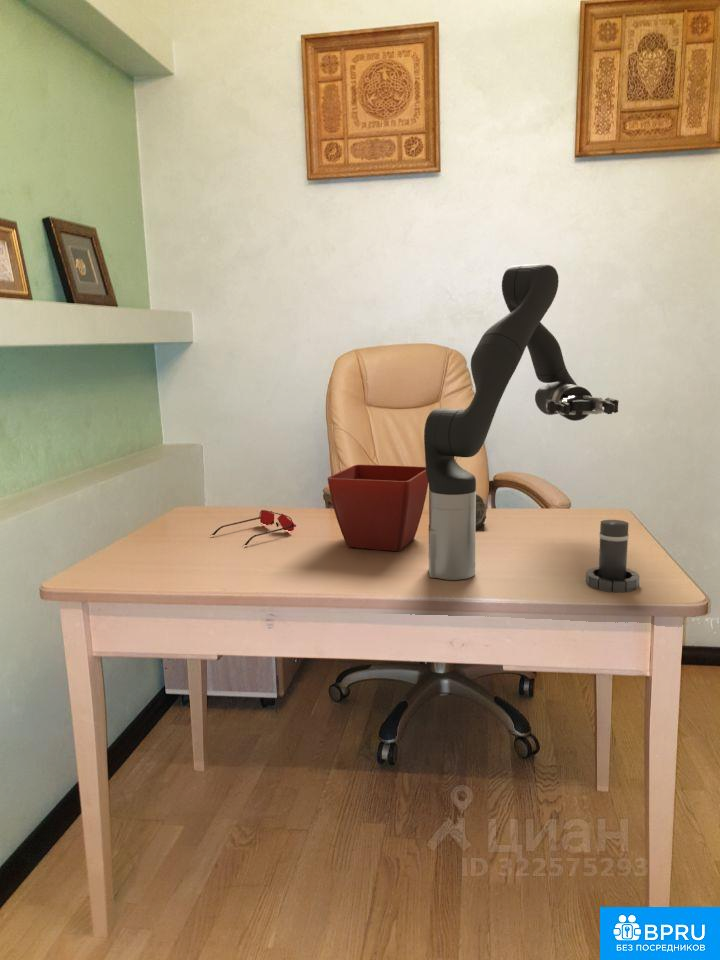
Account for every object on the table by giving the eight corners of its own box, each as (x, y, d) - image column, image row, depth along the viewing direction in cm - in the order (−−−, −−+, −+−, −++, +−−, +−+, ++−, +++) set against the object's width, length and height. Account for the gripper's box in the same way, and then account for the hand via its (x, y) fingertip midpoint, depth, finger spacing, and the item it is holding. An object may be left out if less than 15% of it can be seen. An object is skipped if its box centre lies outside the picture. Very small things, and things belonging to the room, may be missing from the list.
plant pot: (357, 529, 188) (355, 463, 185) (431, 535, 181) (431, 466, 178) (327, 550, 170) (325, 477, 167) (409, 557, 164) (408, 481, 161)
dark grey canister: (601, 588, 142) (604, 526, 140) (594, 579, 147) (596, 519, 145) (629, 588, 142) (632, 526, 139) (621, 579, 147) (624, 519, 144)
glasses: (297, 535, 185) (296, 515, 184) (242, 550, 174) (241, 529, 173) (262, 526, 195) (261, 507, 194) (208, 539, 184) (207, 519, 183)
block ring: (593, 592, 140) (593, 581, 140) (581, 576, 149) (581, 566, 149) (644, 592, 139) (645, 581, 139) (629, 575, 149) (630, 566, 148)
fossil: (452, 530, 183) (445, 491, 186) (442, 539, 191) (435, 501, 194) (494, 526, 185) (486, 487, 188) (482, 534, 194) (475, 497, 196)
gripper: (540, 385, 168) (554, 391, 152) (605, 384, 167) (626, 389, 151) (539, 419, 169) (553, 428, 154) (603, 418, 169) (624, 427, 153)
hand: (589, 409), depth 152 cm, fingers open, 8 cm apart
